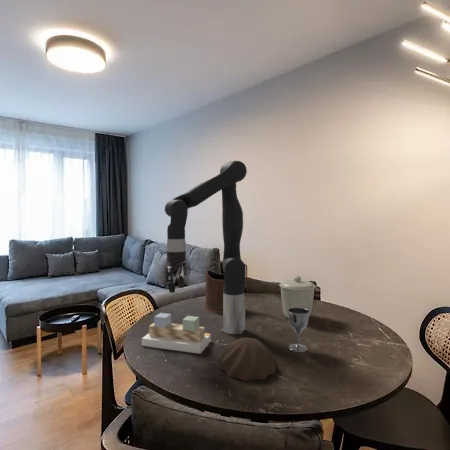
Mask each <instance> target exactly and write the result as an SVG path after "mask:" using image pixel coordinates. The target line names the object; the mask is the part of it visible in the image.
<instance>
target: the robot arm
mask: <svg viewBox="0 0 450 450" xmlns="http://www.w3.org/2000/svg"><path fill="white" fill-rule="evenodd" d="M247 172H248V170H247V166H246V164H245V163H244V162H242V161H240V160H233V161H228V162H225V163H222V166H220V170H219V173H218V174H217V175H215V176H213V177H211V178H209V179H207V180H205V181H202V182H200V183H198V184H197V185H195V186H193V187H191V188H189V190H187V191H186V192H184V193H183V194H182V193H181V194H180V195H178V196H176V197H174V198H172V199H170V200H169V201H168V202H166V204H165V205H164V212H165V214H166V215H167V216H168V217H170V222H169V223H170V224H168V225H167V229H166V231H167V235H166V238H167V241H166V261H167V263H170V265H169V266H166V268H165V283H168V292H169V293H171V294H173V293H174V294H175V293H176V280H178V283H177V287H178V288H179V289H181V288H182V289H183V288H184V287H185V285H184V283H185V280H184V279H185V277H186V276H187V262H186V260H187V257H186V256H187V250H186V249H187V247H186V246H187V244H186V225H187V219H188V211H189V209H191V208H194V207H197V206H199V205H200V204H202V203H203V202H204V201H206V200H208V199H209V198H210V197H212V196H213V195H216V194H217V193H219V192H220V191H221V207H222V209H221V210H222V211H221V212H222V215H221V216H222V217H221V221H222V223H221V224H222V225H221V226H222V238H223V239H222V240H223V258H222V270H223V272H224V274H225V283H224V287H223V313H222V316H223V317H222V321H223V323H222V329H223V332H224V333H225V334H228V335H242V334H243V333H244V332H245V329H246V309H245V287H246V284H245V282H246V266H245V264H246V263H244V261H243V260H242V257H241V239H242V235H243V230H244V211H243V208H242V205H241V203H240V201H239V199H238V195H237V194H238V193H237V183H238V182H242V180H244V179H245V178H246V175H247Z"/></svg>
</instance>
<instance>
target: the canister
mask: <svg viewBox="0 0 450 450" xmlns="http://www.w3.org/2000/svg"><path fill="white" fill-rule="evenodd" d="M278 286H279V287H280V294H281V295H280V297H281V306H282V313H283V316H285V317H286V318H287V319H289V317H288V310H289V309H290V308H294V307H299V308H305V309H307V310H309V318H310V317H311V316H312V312H313V311H312V310H313V305H314V304H313V303H314V296H315V289H316V288H317V286H316V285H315V284H314V283H313V282H311V281H309V280H304V279H302V278H301V276H300V275H295V276H294V277H293V279H286V280H283V281H281V282H280V283H279V284H278Z"/></svg>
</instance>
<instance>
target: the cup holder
mask: <svg viewBox="0 0 450 450" xmlns="http://www.w3.org/2000/svg"><path fill="white" fill-rule="evenodd" d="M244 264H245V269H246V275H245V285H246V284H247V283H248V265H247V264H246V263H244ZM224 283H225V273H216V272H213V271H212V270H205V302H204V305H203V310H204V311H206V312H209V313H212V314H223V287H224Z"/></svg>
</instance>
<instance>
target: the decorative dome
mask: <svg viewBox="0 0 450 450" xmlns="http://www.w3.org/2000/svg"><path fill="white" fill-rule="evenodd" d="M221 361H222V362H221V364H220V367H219V369H220V370H222V371H224V372H225V374H226V375H227V377H230V378H238V379H239V380H242V381H245V382H246V381H251V380H265V379H266V378H267V377H268V376H269V375H272V374H275V373H276V367H277V366H276V360H275V356H274V355H273V353H272V351H271V349H269V347H268V346H266V345H265V343H262V341H260V340H259V339H256V338H252V337H251V338H250V337H240V338H239V339H236V340H233V341H232V342H230V343H229V345H228V346H227V348H226V349H225V350H223V352H222V353H221Z"/></svg>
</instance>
